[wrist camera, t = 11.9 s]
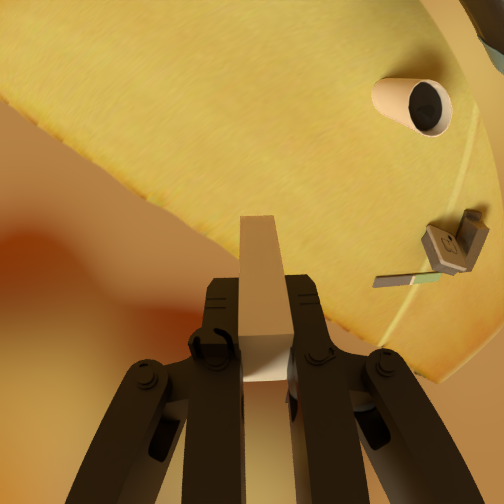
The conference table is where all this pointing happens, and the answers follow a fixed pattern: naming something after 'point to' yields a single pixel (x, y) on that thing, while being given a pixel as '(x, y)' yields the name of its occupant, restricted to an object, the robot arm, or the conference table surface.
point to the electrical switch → (443, 251)
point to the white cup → (414, 104)
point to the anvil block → (471, 237)
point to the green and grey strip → (406, 279)
